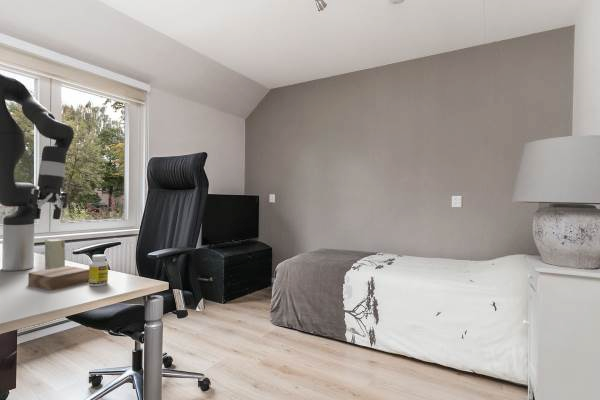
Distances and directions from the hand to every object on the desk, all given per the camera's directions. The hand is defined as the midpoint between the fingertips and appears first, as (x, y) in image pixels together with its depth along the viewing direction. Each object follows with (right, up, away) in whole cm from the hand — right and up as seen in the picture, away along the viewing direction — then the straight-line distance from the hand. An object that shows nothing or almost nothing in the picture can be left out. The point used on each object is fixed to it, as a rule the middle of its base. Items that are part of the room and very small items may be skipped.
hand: (46, 219), depth 120 cm
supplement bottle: (+25, -22, -9) cm, 34 cm away
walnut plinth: (+12, -21, -9) cm, 26 cm away
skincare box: (0, -20, +4) cm, 21 cm away
